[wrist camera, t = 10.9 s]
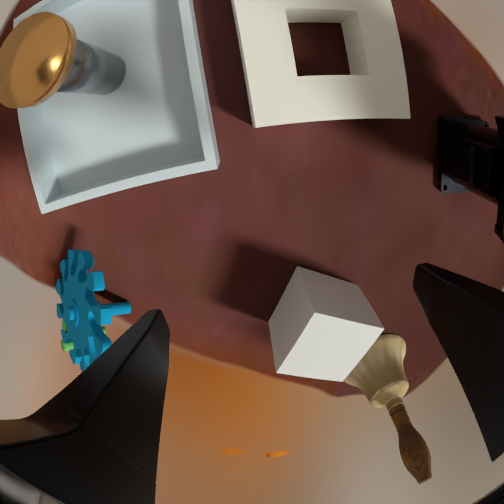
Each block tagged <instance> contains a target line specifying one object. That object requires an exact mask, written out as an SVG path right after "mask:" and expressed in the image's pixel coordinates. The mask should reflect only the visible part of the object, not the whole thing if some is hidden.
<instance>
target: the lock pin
mask: <svg viewBox="0 0 504 504" xmlns="http://www.w3.org/2000/svg"><path fill="white" fill-rule="evenodd" d="M125 75H126V65H125V62H124V61H123V59H122V58H121V57H119V56H118V55H115V54H113V53H111V52H108V51H106V50H104V49H101V48H99V47H96V46H94V45H91V44H89V43H86V42H84V41H81V40H79V39H77V36H76V32H75V29H74V27H73V25H72V24H71V22H70V21H68V20H67V19H65V18H63V17H61V16H59V15H56V14H54V13H51V12H39V13H35V14H33V15H31V16H29V17H27V18H26V19H24V20H23V21H21V22H20V23H19V24H18V25H17V26H16V27H15V28H14V29H13V30H12V31H11V32H10V34H9V35H8V36H7V38H6V39H5V41H4V42H3V44H2V46H1V48H0V103H1V104H3V105H4V106H6V107H8V108H25V107H33V106H37V105H39V104H41V103H43V102H45V101H46V100H47V99H49V98H50V97H51V96H52V95H53V94H54V93H55V92H64V93H84V94H97V95H106V94H109V93H112V92H113V91H115V90H116V89H117V88H118V87H119V86H120V85H121V84H122V82H123V80H124V78H125Z"/></svg>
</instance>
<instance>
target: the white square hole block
mask: <svg viewBox="0 0 504 504" xmlns="http://www.w3.org/2000/svg"><path fill="white" fill-rule="evenodd" d="M231 3H232V9H233V14H234V19H235V25H236V31H237V36H238V42H239V47H240V53H241V59H242V65H243V71H244V77H245V83H246V89H247V95H248V101H249V107H250V113H251V119H252V126H253V127H255V128H257V127H265V126H272V125H281V124H290V123H300V122H311V121H324V120H341V119H373V118H395V119H411V118H410V106H409V96H408V87H407V79H406V72H405V66H404V59H403V54H402V48H401V43H400V38H399V33H398V28H397V24H396V20H395V16H394V12H393V8H392V4H391V1H390V0H231ZM295 22H326V23H341V26H342V31H343V36H344V41H345V46H346V52H347V57H348V63H349V70H350V75H316V76H297V71H296V65H295V59H294V54H293V48H292V43H291V37H290V32H289V27H288V23H295Z"/></svg>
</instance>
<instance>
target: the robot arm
mask: <svg viewBox="0 0 504 504" xmlns="http://www.w3.org/2000/svg"><path fill="white" fill-rule="evenodd" d="M495 119H496V124H497V128H498V130H497V129H493V128H489V124H488V123H487V122H486V121H481V120H474V119H466V118H457V117H447V116H440V117H439V119H438V129H439V183H438V188H439V191H440V192H442V193H455V192H466V191H471V192H473V193H475V194H477V195H479V196H481V197H483V198H485V199H487V200H489V201H491V202H493V203H495V204H496V205H498V212H497V222H496V224H495V233H496V234H497V235H498V236H499V238H500V239H501V240H502V241H503V243H504V116H495ZM443 121H445V124H443ZM484 125H485V127H484ZM444 185H445V187H444V189H443V186H444ZM413 289H414V292H415V294H416V296H417V298H418V300H419V302H420V304H421V306H422V309H423V311H424V313H425V315H426V318H427V320H428V322H429V324H430V326H431V327H432V329H433V331H434V333H435V335H436V336H437V338H438V340H439V342H440V344H441V346H442V347H443V349H444V351H445V353H446V355H447V357H448V359H449V361H450V363H451V365H452V367H453V369H454V371H455V373H456V375H457V377H458V379H459V381H460V383H461V385H462V388H463V390H464V392H465V394H466V396H467V399H468V401H469V403H470V405H471V408H472V410H473V412H474V414H475V417H476V420H477V422H478V425H479V428H480V430H481V433H482V435H483V438H484V441H485V443H486V446H487V449H488V452H489V455H490V458H491V460H492V462H493V461H495V460H496V459H498V458H499V457H500V456H502V455H503V454H504V292H502V291H501V290H498V289H496V288H493V287H491V286H488V285H486V284H483V283H480V282H478V281H475V280H472V279H470V278H467V277H465V276H462V275H459V274H456V273H454V272H451V271H448V270H446V269H443V268H440V267H437V266H434V265H432V264H429V263H423V264H418V265H417V266H416V269H415V275H414V281H413ZM169 339H170V331H169V327H168V325H167V322H166V320H165V317H164V315H163V313H162V311H161V310H160V309H157V310H149V311H148V312H147V313H146V314H145V315H143V316H142V317H141V318H140V319H139V320H138V321H137V322H136V323H135V324H134V325H132V326H131V327H130V328H129V329H128V330H127V331H126V332H125V333H124V334H123V335H122V336H120V337H119V338H118V339H117V340H116V341H115V342H114V343H113V344H112V345H111V346H110V347H109V348H107V349H106V350H105V351H104V352H103V353H102V354H101V355H100V356H99V357H98V358H97V359H96V360H95V361H94V362H92V363H91V364H90V365H89V366H88V367H87V368H86V370H84V371H83V372H82V373H81V374H80V375H79V376H78V377H77V378H75V379H74V380H73V381H72V382H71V383H70V384H69V385H68V386H66V387H65V388H64V389H63V390H62V391H61V392H59V393H58V394H57V395H56V396H54V397H53V398H52V399H51V400H49V401H48V402H47V403H46V404H45V405H43V406H42V407H41V408H40V409H39V410H37V411H36V412H35V413H33V414H32V415H30V416H28V417H26V418H22V419H16V420H15V419H14V420H0V504H155V490H156V483H155V482H156V474H157V462H158V450H159V441H160V432H161V423H162V415H163V407H164V398H165V391H166V384H167V377H168V367H169ZM473 504H504V482H503V483H502V484H500V485H499V486H498V487H496V488H495V489H494V490H492V491H491V492H489V493H488V494H486V495H485V496H484V497H482V498H481V499H479V500H478V501H476V502H474V503H473Z"/></svg>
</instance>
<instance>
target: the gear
mask: <svg viewBox="0 0 504 504" xmlns="http://www.w3.org/2000/svg"><path fill="white" fill-rule="evenodd" d="M93 265H94V258H93V256H92V254H91V252H90V251H81V250H74V249H69V250H68V259H63V260H62V261H61V263H60V270H61V273H62V278H63V279H58V280H57V284H56V290H57V293H58V294H59V295H60V297H61V300H62V304H57V316H58V318H62V319H63V321H62V327H63V329H62V330H61V334H62V338H63V340H62V341H61V346H62V349H63V351H69V350H70V352H69V353H70V357H71V359H72V361H73V363H74V364H78V363H80V368H81V371H82V372H83V371H84V370H86V368H87V367H88V366H89V365H90V364H91V363H92V362H94V361H95V360H96V359H97V358H98V357H99V356H100V355H101V354H102V353H103V352H104V351H105V350H106V349H107V348H109V347H110V346H111V345H112V342H111V340H110V339H109V338H108V337H107V336H106V335H105V334H106V329H105V327H101V325H106V324H111V316H112V315H120V314H128V313H130V312H131V305H130V303H129V302H121V303H110V304H100V303H99V302H98V301H97V300H96V299H95V297H94V291H103V290H104V288H105V283H104V277H103V273H102V272H101V271H95V272H89V274H88V277H87V271H88V269H91V268H92V267H93Z"/></svg>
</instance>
